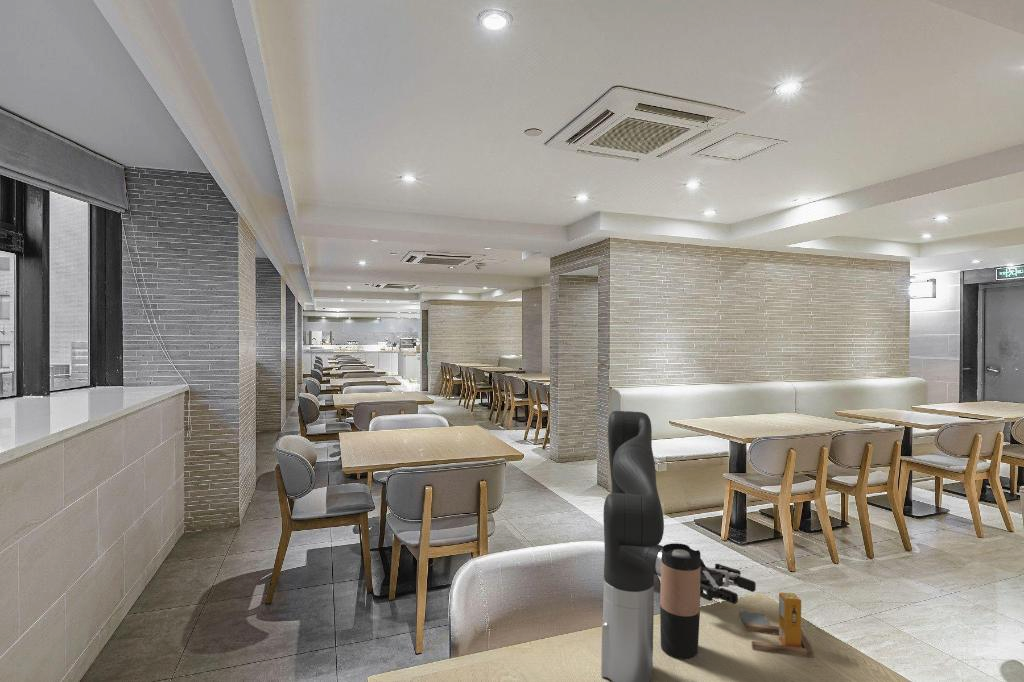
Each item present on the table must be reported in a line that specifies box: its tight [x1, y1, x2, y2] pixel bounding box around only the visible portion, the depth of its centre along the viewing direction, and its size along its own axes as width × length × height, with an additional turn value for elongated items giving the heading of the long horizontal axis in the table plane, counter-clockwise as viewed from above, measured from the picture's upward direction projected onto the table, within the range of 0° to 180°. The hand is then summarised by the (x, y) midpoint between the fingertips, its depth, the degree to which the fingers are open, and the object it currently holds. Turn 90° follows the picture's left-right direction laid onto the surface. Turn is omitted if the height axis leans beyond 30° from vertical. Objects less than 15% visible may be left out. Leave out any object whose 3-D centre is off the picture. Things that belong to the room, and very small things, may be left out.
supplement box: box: [778, 592, 802, 648], centre depth 110 cm, size 3×3×10 cm
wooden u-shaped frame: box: [744, 622, 815, 659], centre depth 111 cm, size 11×8×1 cm
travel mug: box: [659, 542, 702, 660], centre depth 108 cm, size 8×8×20 cm
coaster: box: [739, 610, 770, 626], centre depth 119 cm, size 5×5×1 cm
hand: (746, 593), depth 117 cm, fingers open, 8 cm apart
